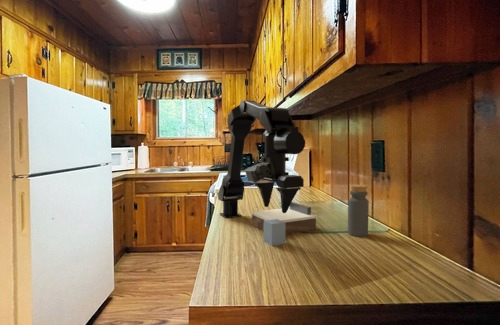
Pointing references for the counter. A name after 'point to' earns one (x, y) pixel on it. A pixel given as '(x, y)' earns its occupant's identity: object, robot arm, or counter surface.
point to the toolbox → (288, 225)
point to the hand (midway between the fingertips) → (274, 209)
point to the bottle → (358, 211)
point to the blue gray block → (274, 232)
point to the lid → (287, 213)
